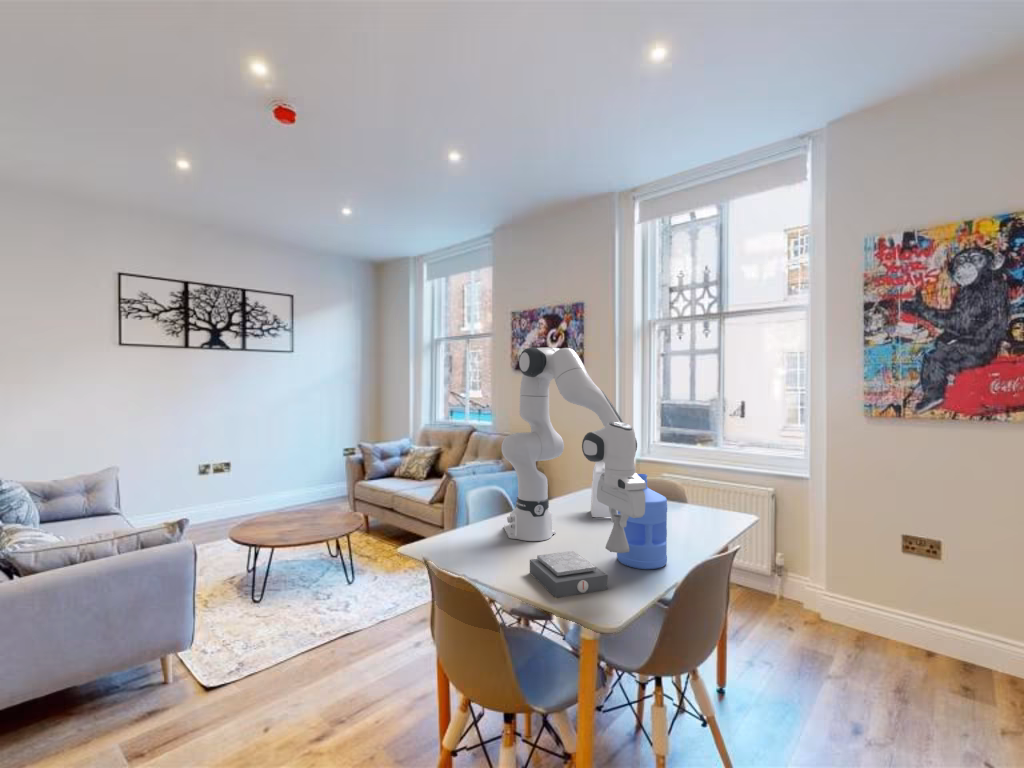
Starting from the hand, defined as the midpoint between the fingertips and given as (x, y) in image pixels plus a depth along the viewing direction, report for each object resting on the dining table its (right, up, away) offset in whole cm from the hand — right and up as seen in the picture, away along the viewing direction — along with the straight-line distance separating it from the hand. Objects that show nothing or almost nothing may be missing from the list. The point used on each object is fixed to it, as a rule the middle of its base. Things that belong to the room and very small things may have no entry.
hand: (618, 524), depth 142 cm
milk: (+10, -16, +71) cm, 73 cm away
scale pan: (-16, -11, -1) cm, 19 cm away
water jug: (+11, -16, +14) cm, 24 cm away
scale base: (-15, -16, -2) cm, 22 cm away
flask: (0, -8, 0) cm, 8 cm away
